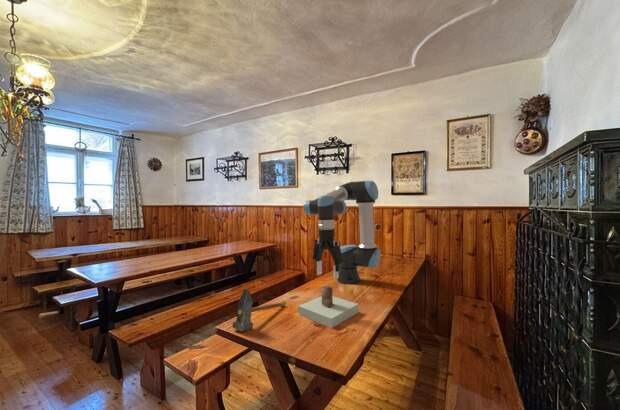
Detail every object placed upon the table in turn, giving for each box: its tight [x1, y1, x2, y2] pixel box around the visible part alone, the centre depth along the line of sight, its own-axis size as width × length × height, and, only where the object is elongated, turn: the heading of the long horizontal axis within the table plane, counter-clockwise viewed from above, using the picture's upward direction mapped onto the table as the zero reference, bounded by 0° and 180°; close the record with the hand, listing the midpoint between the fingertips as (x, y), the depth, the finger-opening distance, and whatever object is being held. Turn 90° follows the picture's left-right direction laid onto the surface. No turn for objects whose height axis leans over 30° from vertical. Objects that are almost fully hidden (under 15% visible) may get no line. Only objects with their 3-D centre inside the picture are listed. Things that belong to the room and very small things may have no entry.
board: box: [297, 295, 359, 329], centre depth 121 cm, size 20×20×4 cm
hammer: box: [232, 288, 287, 332], centre depth 119 cm, size 6×16×30 cm
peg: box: [320, 285, 333, 308], centre depth 121 cm, size 5×5×12 cm
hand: (327, 276), depth 121 cm, fingers open, 9 cm apart
